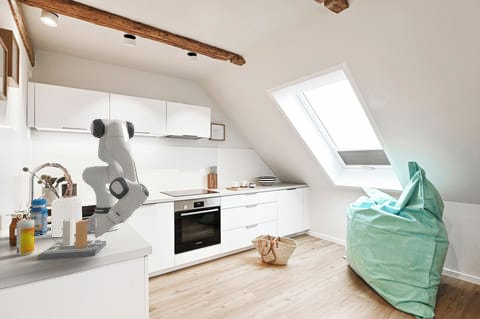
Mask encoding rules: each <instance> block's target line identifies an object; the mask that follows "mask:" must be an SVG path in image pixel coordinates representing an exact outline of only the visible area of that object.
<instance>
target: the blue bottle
mask: <svg viewBox="0 0 480 319" xmlns="http://www.w3.org/2000/svg"><path fill="white" fill-rule="evenodd" d="M46 205H47V199H46V198H35V199H32V200H31V206H32V207H31V208H30V210H29V218H28V219H33V220H34V235H39V236H41V235H40V234H44V235H46V234H48V217H49V214H48V210H49V209H48V208H47V206H46ZM45 233H46V234H45Z"/></svg>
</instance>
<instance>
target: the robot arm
mask: <svg viewBox="0 0 480 319" xmlns="http://www.w3.org/2000/svg"><path fill="white" fill-rule="evenodd" d="M135 131H136V130H135V125H134V124H133V122H132V121H127V120H119V119H109V118H108V119H101V118H95V119H93V120H92V122H91V124H90V132H91V135H92V136H93V137H94V138H96V139H98V149H97V150H98V151H97V158H98V159H99V160H100V161H101V162H103V163H105V164H106V163H107V164H108V165H102V166H101V165H99V166H98V165H93V166H89V167H86V168H84V169H83V171H82V174H81V177H82V181H83V182H84V183H85V184H87V185H89V186H90V187H91V188H92V190H93V191H94V194H95V195H94V196H95V202H96V206H95V207H94V208H93V210H94V212H93V214H92V215H90V217H89V218H87V233H91V234H93V233H94V235H93V236H94V238H96V239H98V238H99V237H101V236H103V235H105V234H106V233H108V232H111V231H116V230H118V229H120V227H121V224H122V223H125V222H126V221H127V220H128V219H129V218H130V217H132V215H133V214H134V213H135V211H137V210H138V209H139V208H141V206H143V204H144V203H145V202H146V201H147V200H148V198H149V196H150V193H149V190H148V188H147V187H146V185H144V184H142V183H141V182H140V181H139V179H138V178H139V177H138V173H137V169H136V168H137V167H136V165H135V164H136V163H135V160H134V156H133V153H132V148H131V147H132V146H131V141H130V140H131V139H132V138H134V135H135ZM108 184H109V188H108V187H106V185H108ZM117 200H118V201H117Z"/></svg>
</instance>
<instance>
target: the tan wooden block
mask: <svg viewBox="0 0 480 319" xmlns="http://www.w3.org/2000/svg"><path fill="white" fill-rule="evenodd" d="M87 221H88V219H85V220H78V221H77V222H75V241H76V249H81V248H85V247H86V246H87V240H88V231H87Z"/></svg>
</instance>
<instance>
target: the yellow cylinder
mask: <svg viewBox="0 0 480 319" xmlns="http://www.w3.org/2000/svg"><path fill="white" fill-rule="evenodd" d="M34 252H35V236H34V220H33V219H30V218H28V219H27V218H26V219H20V220H18V221H17V222H16V255H17V256H18V255H19V257H23V256H24V257H25V256H30V255H31V254H33V253H34Z"/></svg>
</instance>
